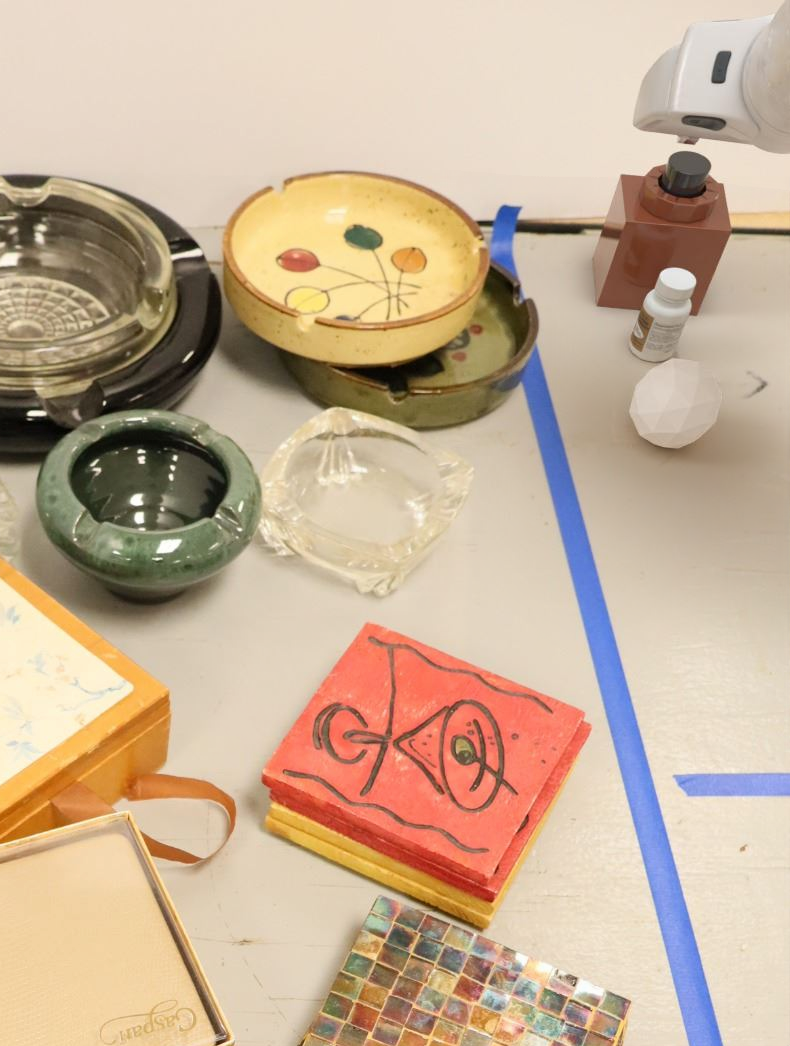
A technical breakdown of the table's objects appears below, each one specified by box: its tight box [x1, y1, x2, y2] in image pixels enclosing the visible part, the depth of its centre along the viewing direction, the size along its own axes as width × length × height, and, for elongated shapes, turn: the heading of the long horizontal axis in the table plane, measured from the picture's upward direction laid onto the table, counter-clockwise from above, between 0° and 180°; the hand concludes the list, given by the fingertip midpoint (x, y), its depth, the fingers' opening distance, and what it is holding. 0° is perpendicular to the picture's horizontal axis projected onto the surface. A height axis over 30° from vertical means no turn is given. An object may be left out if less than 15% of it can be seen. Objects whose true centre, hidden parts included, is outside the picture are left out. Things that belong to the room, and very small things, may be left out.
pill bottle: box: [628, 268, 696, 363], centre depth 137 cm, size 4×4×8 cm
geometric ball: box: [628, 357, 724, 449], centre depth 130 cm, size 8×8×8 cm
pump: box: [660, 150, 712, 199], centre depth 136 cm, size 4×4×2 cm
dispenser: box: [592, 163, 733, 317], centre depth 141 cm, size 10×8×11 cm
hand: (745, 141), depth 119 cm, fingers open, 8 cm apart
